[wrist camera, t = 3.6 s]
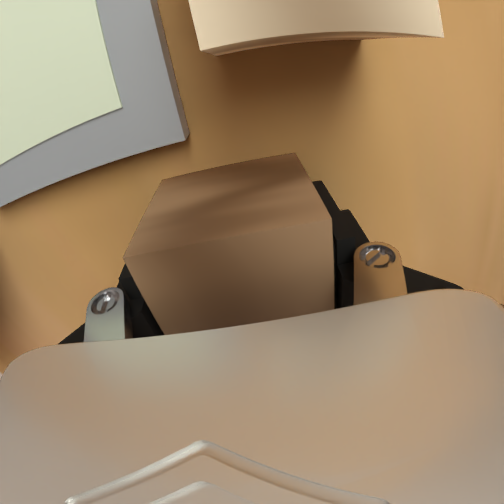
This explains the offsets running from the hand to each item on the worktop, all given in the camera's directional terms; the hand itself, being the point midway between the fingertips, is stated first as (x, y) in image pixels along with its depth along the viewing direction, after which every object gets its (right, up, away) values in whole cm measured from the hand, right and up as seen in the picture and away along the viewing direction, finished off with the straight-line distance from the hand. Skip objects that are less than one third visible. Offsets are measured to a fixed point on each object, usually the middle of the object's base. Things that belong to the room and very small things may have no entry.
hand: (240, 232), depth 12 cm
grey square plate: (-8, +7, -4) cm, 11 cm away
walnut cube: (0, 0, +1) cm, 1 cm away
